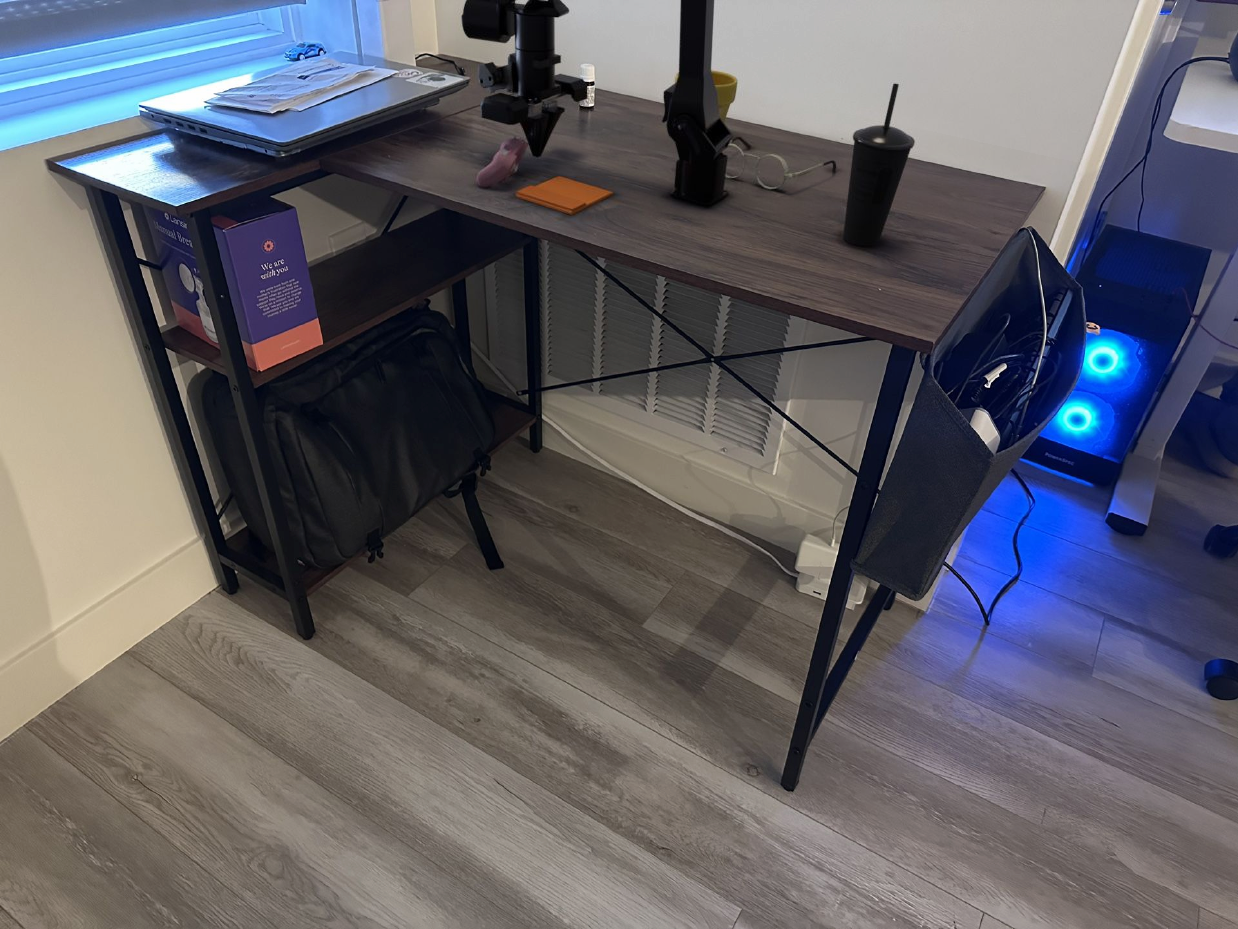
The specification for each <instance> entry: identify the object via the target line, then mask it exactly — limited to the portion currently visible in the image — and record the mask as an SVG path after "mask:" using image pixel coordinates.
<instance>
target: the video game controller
mask: <svg viewBox="0 0 1238 929" xmlns="http://www.w3.org/2000/svg"><path fill="white" fill-rule="evenodd" d="M528 146H529V144H528V141H526V140H525V139H523V138H521V137H519V138H518V137H516V135H514V137H512V138H511V137H510V138H507V139H506V140H504V141H503V142H502V143H501V146H500V149H499V150H498V151H497V152H496V153H495V155H494V156H493V158H492V161H491V163H489V164H488V165H487V166H485V167H484V168H483V169H481V170H480V171H479V172H478V174H477V175H476V183H477V185H478V186H479V187H481V188H487V187H492V186H494V185H496V184H498V183H500V182H502V183H503V184H506V182H507V181H508V179H509V177H510V176H512V175H513V174H514V173H517V171H518V165H519V163H520V161H521V160H522V159H523V158H524V156H525V154H526V152H527V148H528Z"/></svg>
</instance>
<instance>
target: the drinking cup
mask: <svg viewBox="0 0 1238 929" xmlns="http://www.w3.org/2000/svg"><path fill="white" fill-rule="evenodd" d="M899 86H900V85H899V83H893V85H892V88H891V92H890V96H889V101H888V106H887V111H886V114H885V119H884V124H882V125H881V124H880V125H879V124H877V125H871V126H867V127H864V128H860V129H858V130H856V131H854V132H853V134H852V140H853V150H852V158H851V167H850V176H849V184H848V193H847V201H846V209H845V215H844V216H845V217H844V226H843V234H842V238H843V240H844V241H845V242H847V243H848V244H850V245H854V246H858V247H862V248H863V247H864V248H865V247H869V248H870V247H874V246H877V245H879V243H880V241H881V238H882V234H883V232H884V229H885V225H886V224H887V219H888V216H889V214H890V211H891V208H892V206H893V202H894V199H895V196H896V193H897V191H898V188H899V185H900V181H901V179H902V177H903V173H904V170H905V168H906V164H907V161H908V158H909V155H910V153H911V150H912V149H913V148H914V146H915V144H916V141H915V138H914V137H913V136H911V135H909V134H908V133H906V132H905V131H903V130H901V129H900V128H897V127H896V126H895V127H894V126H890V125H891V122H892V117H893V112H894V107H895V103H896V99H897V95H898V91H899Z"/></svg>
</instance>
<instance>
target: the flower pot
mask: <svg viewBox="0 0 1238 929" xmlns="http://www.w3.org/2000/svg"><path fill="white" fill-rule="evenodd" d="M711 73H712V77H713V80H714V83H715V87H716V90H717V96H718V105H719V116H720V118H721V119H722V121H723V122H724V123H725V122H726V118H727V115H728V112H729V109H730V106H731V105H732V104H733V103H734V102H735V100H736V95H737V89H738V79H737V77H736V76H734V75H732V74H731V73H728V72H724V71H718V70H712V69H711ZM678 74H679V71H678V72H677V73H676V74H675V76H674V84H675V83H676V82H677V79H678Z"/></svg>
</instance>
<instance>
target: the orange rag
mask: <svg viewBox="0 0 1238 929" xmlns="http://www.w3.org/2000/svg"><path fill="white" fill-rule="evenodd" d="M613 195H614V192H613V191H611V190H608V189H603V188H600V187H597V186H594V185H591V184H587V183H584V182H580V181H577V180H573V179H571V178H568V177H563V176H561V175H558V176H556V177H553V178H551V179H549V180H547V181H544V182H542V183H539V184H537V185H535V186H534V185H528V186H526V187H524V188H521V189H519V190H517V191H516V194H515V198H517V199H521V200H524V201H527V202H530V203H532V204H537V205H539V206H543V207H546V208H548V209H552V210H555V211H558V212H561V213H564V214H567V215H571V216H572V215H574V214H576V213H578V212H580V211H582V210H584V209H587V208H589V207H591V206H593V205H595V204H597V203H599V202H601V201H602V200H604V199H607V198H608V197H612V196H613Z"/></svg>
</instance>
